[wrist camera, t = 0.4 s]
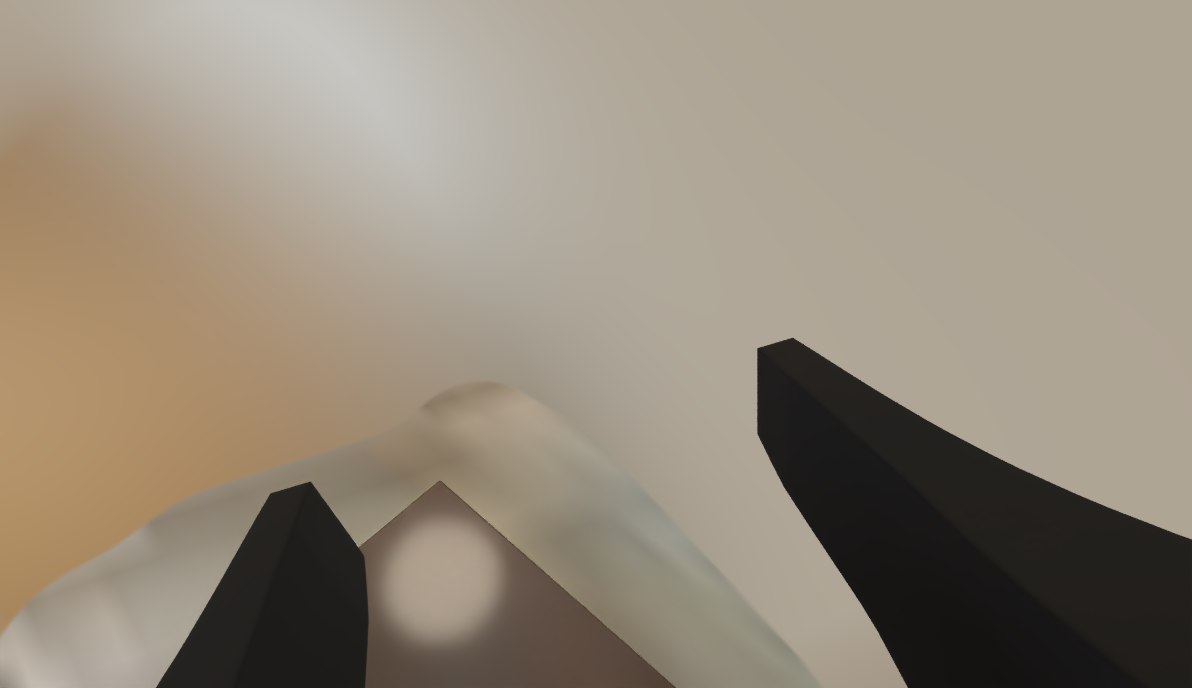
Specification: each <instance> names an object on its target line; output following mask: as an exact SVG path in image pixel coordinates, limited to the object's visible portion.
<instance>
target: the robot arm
mask: <svg viewBox="0 0 1192 688" xmlns="http://www.w3.org/2000/svg"><path fill="white" fill-rule="evenodd" d="M757 354H758V355H757V356H758V357H757V358H758V359H757V365H758V366H757V367H758V368H757V371H758V372H757V374H758V376H757V378H758V379H757V382H758V384H757V387H758V388H757V390H758V391H757V395H758V396H757V397H758V398H757V399H758V402H757V406H758V409H757V414H758V415H757V422H758V427H757V428H758V429H757V430H758V436H759V438H760V440H761V442H762V444H763V446H764V448H765V450H766V452H767V454H768V456H769V458H770V461H771V463H772V465H773V466H774V468H775V470H776V472H777V474H778V476H779V478H780V480H781V482H782V484H783V486H784V488H785V489H786V491H787V492H788V494H789V495H790V497H791V499H792V500H793V502H794V503H795V505H796V506H797V508H798V509H799V511H800V512H801V514H802V515H803V517H804V519H805V520H806V522H807V523H808V525H809V526H810V528H811V529H812V531H813V532H814V534H815V535H816V537H817V538H818V540H819V541H820V543H821V544H822V546H823V547H824V549H825V550H826V552H827V553H828V555H829V556H830V558H831V559H832V561H833V562H834V564H835V565H836V567H837V568H838V570H839V571H840V573H841V574H842V576H843V577H844V579H845V580H846V582H847V583H848V585H849V586H850V588H851V589H852V591H853V592H854V594H855V595H856V597H857V598H858V600H859V601H860V603H861V605H862V606H863V608H864V610H865V611H866V613H867V614H868V616H869V618H870V619H871V621H872V622H873V624H874V626H875V628H876V629H877V631H878V632H879V635H880V637H881V638H882V640H883V642H884V644H885V646H886V647H887V649H888V651H889V653H890V655H891V657H892V659H893V661H894V663H895V664H896V666H897V668H898V670H899V672H900V674H901V676H902V677H903V679H904V681H905V683H906V685H907V687H908V688H1192V539H1189V538H1186V537H1183V536H1180V535H1177V534H1175V533H1172V532H1170V531H1167V530H1165V529H1162V528H1160V527H1157V526H1154V525H1152V524H1149V523H1147V522H1144V521H1141V520H1139V519H1136V518H1133V517H1131V516H1129V515H1126V514H1123V513H1121V512H1118V511H1116V510H1113V509H1110V508H1108V507H1106V506H1103V505H1101V504H1098V503H1096V502H1094V501H1091V500H1089V499H1086V498H1084V497H1082V496H1079V495H1077V494H1075V493H1072V492H1070V491H1068V490H1066V489H1064V488H1061V487H1059V486H1057V485H1055V484H1052V483H1050V482H1048V481H1046V480H1044V479H1042V478H1039V477H1037V476H1035V475H1033V474H1030V473H1028V472H1026V471H1024V470H1022V469H1019V468H1017V467H1015V466H1013V465H1011V464H1009V463H1007V462H1005V461H1003V460H1001V459H999V458H997V457H995V456H993V455H991V454H989V453H987V452H985V451H983V450H981V449H979V448H977V447H976V446H974V445H972V444H970V443H968V442H966V441H964V440H962V439H960V438H958V437H956V436H955V435H953V434H950V433H949V432H947V431H945V430H943V429H942V428H940V427H938V426H936V425H934V424H933V423H931V422H929V421H927V420H926V419H924V418H922V417H920V416H919V415H917V414H915V413H914V412H912V411H910V410H909V409H907V408H905V407H903V406H902V405H900V404H898V403H897V402H895V401H893V400H891V399H890V398H888V397H886V396H884V395H883V394H881V393H880V392H878V391H877V390H875V389H873V388H872V387H870V386H868V385H867V384H865V383H864V382H862V381H861V380H859V379H857V378H856V377H854V376H853V375H851V374H849V373H848V372H846V371H844V370H843V369H841V368H840V367H838V366H837V365H835V364H834V363H832V362H830V361H829V360H827V359H826V358H824V357H823V356H821V355H819V354H818V353H816V352H815V351H813V350H811V349H810V348H808V347H806V346H805V345H804V344H802V343H800V342H799V341H797V340H795V339H794V338H791V339H787V340H784V341H780V342H777V343H774V344H770V345H767V346H764V347H760V348H758V349H757ZM368 627H369V613H368V595H367V581H366V569H365V556H364V555H363V553H362V552H361V550H360V549H359V548H358V546H357V545H356V544H355V542H354V541H353V539H352V538H351V537H350V535H349V534H348V533H347V531H346V530H345V528H344V527H343V526H342V524H341V523H340V521H339V520H338V519H337V517H336V516H335V515H334V513H333V512H332V510H331V509H330V508H329V506H328V505H327V503H326V502H325V501H324V499H323V498H322V497H321V495H320V494H319V492H318V491H317V490H316V488H315V487H314V485H313V484H312V483H311V482H308V483H304V484H301V485H298V486H294V487H291V488H288V489H284V490H281V491H278V492H274V493H271V494H270V495H269V497H268V499H267V500H266V502H265V504H264V506H263V507H262V509H261V511H260V512H259V514H258V516H257V518H256V519H255V521H254V523H253V525H252V526H251V528H250V530H249V532H248V533H247V535H246V537H245V539H244V540H243V542H242V544H241V546H240V548H239V549H238V551H237V553H236V555H235V556H234V558H233V560H232V562H231V563H230V565H229V567H228V569H227V571H226V572H225V574H224V576H223V578H222V579H221V581H220V583H219V585H218V586H217V588H216V590H215V592H214V593H213V595H212V597H211V598H210V600H209V602H208V603H207V605H206V607H205V609H204V610H203V612H202V614H201V615H200V617H199V619H198V620H197V622H196V624H195V626H194V627H193V629H192V631H191V632H190V634H189V636H188V637H187V639H186V641H185V643H184V644H183V646H182V647H181V649H180V651H179V652H178V654H177V656H176V657H175V659H174V660H173V662H172V663H171V665H170V667H169V668H168V670H167V671H166V673H165V674H164V676H163V678H162V679H161V681H160V682H159V684H158V685H157V687H156V688H365V682H366V665H367V647H368Z"/></svg>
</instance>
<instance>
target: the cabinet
mask: <svg viewBox="0 0 1192 688" xmlns="http://www.w3.org/2000/svg"><path fill="white" fill-rule="evenodd" d="M359 549H360V550H361V552H362V553H363V555H364V556H365V569H366V581H367V595H368V613H369V627H368V647H367V665H366V682H365V688H676V687H675V686H673V685H672V684H671V683H670V682H669V681H668V680H667V679H665V678H664V677H663V676H662V675H661V674H660V673H659V672H658V671H656V670H655V669H654V668H653V667H652V666H651V665H650V664H648V663H647V662H646V661H645V660H644V659H643V658H642V657H640V656H639V655H638V654H637V653H636V652H635V651H634V650H633V649H631V648H630V647H629V646H628V645H627V644H626V643H625V642H623V641H622V640H621V639H620V638H619V637H618V636H617V635H615V634H614V633H613V632H612V631H611V630H610V629H609V628H607V627H606V626H605V625H604V624H603V623H602V622H601V621H600V620H598V619H597V618H596V617H595V616H594V615H593V614H592V613H590V612H589V611H588V610H587V609H586V608H585V607H584V606H582V605H581V604H580V603H579V602H578V601H577V600H576V599H574V598H573V597H572V596H571V595H570V594H569V593H568V592H567V591H565V590H564V589H563V588H562V587H561V586H560V585H559V584H557V583H556V582H555V581H554V580H553V579H552V578H551V577H549V576H548V575H547V574H546V573H545V572H544V571H543V570H542V569H540V568H539V567H538V566H537V565H536V564H535V563H534V562H532V561H531V560H530V559H529V558H528V557H527V556H526V555H524V554H523V553H522V552H521V551H520V550H519V549H518V548H516V547H515V546H514V545H513V544H512V543H511V542H510V541H509V540H507V539H506V538H505V537H504V536H503V535H502V534H501V533H499V532H498V531H497V530H496V529H495V528H494V527H493V526H491V525H490V524H489V523H488V522H487V521H486V520H485V519H484V518H482V517H481V516H480V515H479V514H478V513H477V512H476V511H474V510H473V509H472V508H471V507H470V506H469V505H468V504H466V503H465V502H464V501H463V500H462V499H461V498H460V497H458V496H457V495H456V494H455V493H454V492H453V491H452V490H451V489H449V488H448V487H447V486H446V485H445V484H444V483H443V482H441V481H439V482H437V483H436V484H435V485H434V486H433V487H431V488H430V489H429V490H428V491H427V492H425V493H424V494H423V495H422V496H421V497H419V498H418V499H417V500H416V501H415V502H413V503H412V504H411V505H410V506H408V507H407V508H406V509H405V510H404V511H402V512H401V513H400V514H399V515H398V516H396V517H395V518H394V519H393V520H392V521H390V522H389V523H388V524H387V525H386V526H384V527H383V528H382V529H381V530H380V531H378V532H377V533H376V534H375V535H374V536H372V537H371V538H370V539H369V540H368V541H366V542H365V543H364V544H363V545H362V546H360V547H359Z"/></svg>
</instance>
